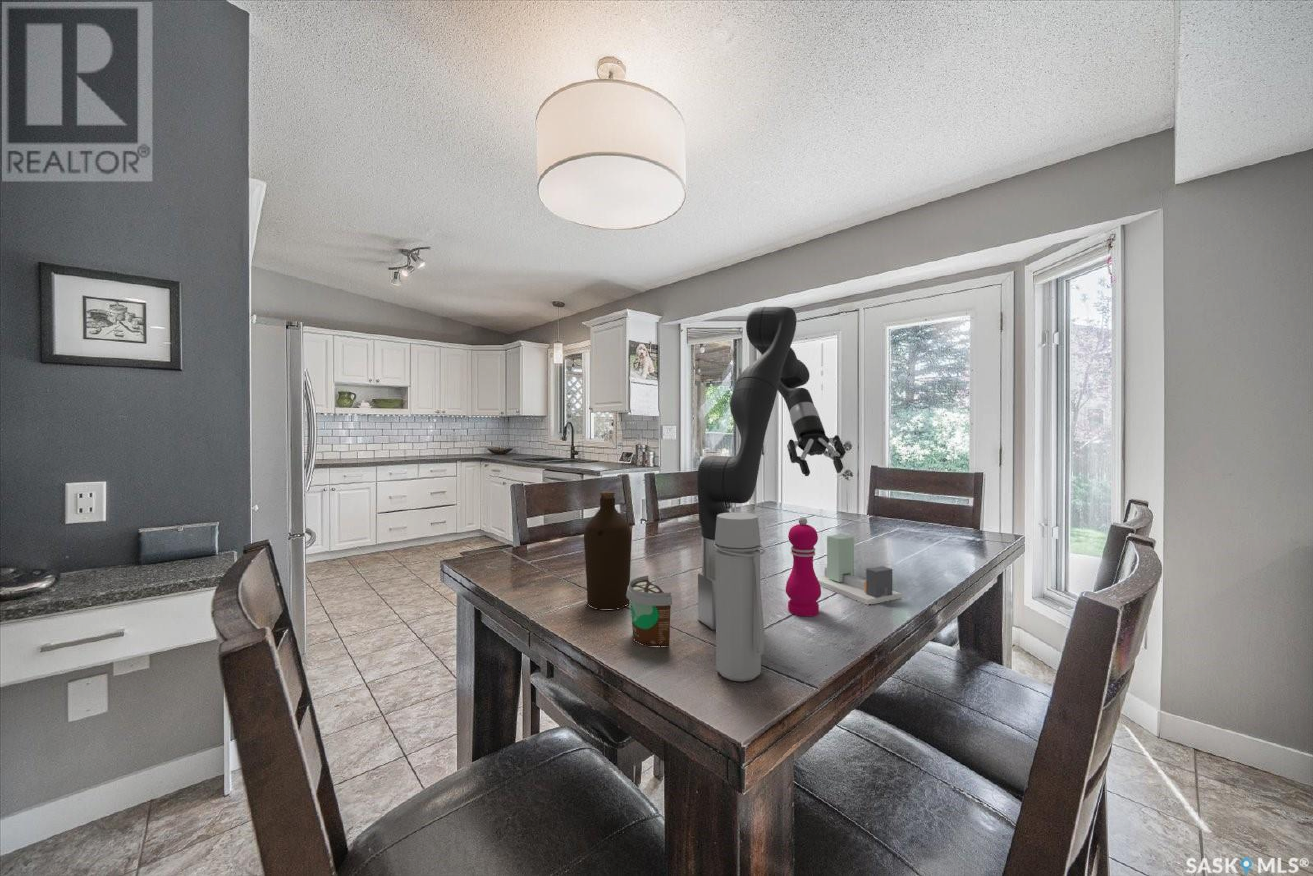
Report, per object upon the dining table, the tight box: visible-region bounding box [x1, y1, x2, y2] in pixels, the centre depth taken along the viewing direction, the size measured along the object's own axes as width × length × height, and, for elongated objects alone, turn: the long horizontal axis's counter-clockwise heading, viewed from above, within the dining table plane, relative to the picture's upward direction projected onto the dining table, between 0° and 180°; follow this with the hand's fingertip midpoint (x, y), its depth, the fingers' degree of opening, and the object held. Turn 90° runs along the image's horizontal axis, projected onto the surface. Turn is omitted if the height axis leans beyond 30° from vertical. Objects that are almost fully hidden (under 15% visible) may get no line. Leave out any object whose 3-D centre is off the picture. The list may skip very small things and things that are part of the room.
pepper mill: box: [785, 516, 822, 617], centre depth 105 cm, size 7×7×20 cm
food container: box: [626, 575, 673, 648], centre depth 92 cm, size 12×6×10 cm, turn 22°
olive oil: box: [583, 490, 633, 610], centre depth 111 cm, size 11×11×25 cm
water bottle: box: [714, 511, 767, 682], centre depth 78 cm, size 9×8×25 cm
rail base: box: [817, 565, 902, 606], centre depth 119 cm, size 10×17×7 cm, turn 23°
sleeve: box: [826, 533, 855, 582], centre depth 123 cm, size 5×4×10 cm
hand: (824, 473), depth 129 cm, fingers open, 8 cm apart
